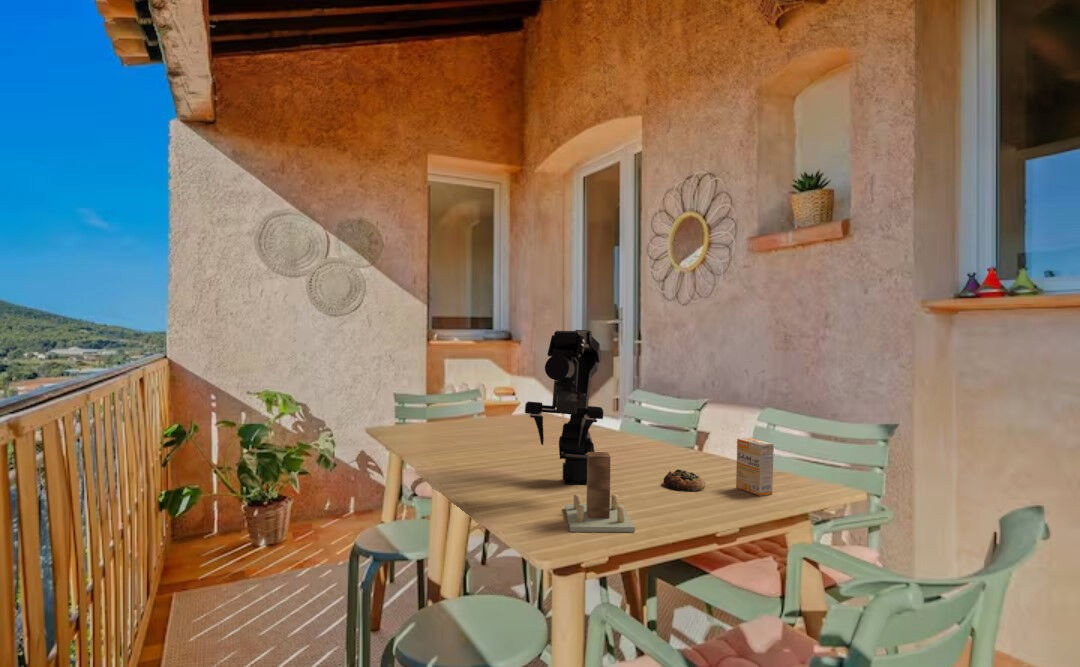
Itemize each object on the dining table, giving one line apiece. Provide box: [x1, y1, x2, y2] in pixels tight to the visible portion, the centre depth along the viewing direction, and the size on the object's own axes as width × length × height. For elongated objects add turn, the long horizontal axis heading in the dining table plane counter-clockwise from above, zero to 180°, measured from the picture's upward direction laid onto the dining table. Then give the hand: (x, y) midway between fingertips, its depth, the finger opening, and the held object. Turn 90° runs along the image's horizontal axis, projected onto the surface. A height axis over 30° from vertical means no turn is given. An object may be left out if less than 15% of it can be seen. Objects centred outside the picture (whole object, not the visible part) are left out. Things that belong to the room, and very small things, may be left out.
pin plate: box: [564, 493, 636, 533], centre depth 120 cm, size 13×15×4 cm
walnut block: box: [586, 451, 611, 519], centre depth 120 cm, size 4×4×13 cm
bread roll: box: [663, 469, 706, 492], centre depth 149 cm, size 11×11×5 cm
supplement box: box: [735, 437, 775, 497], centre depth 144 cm, size 8×5×13 cm, turn 25°
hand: (561, 446), depth 136 cm, fingers open, 9 cm apart
